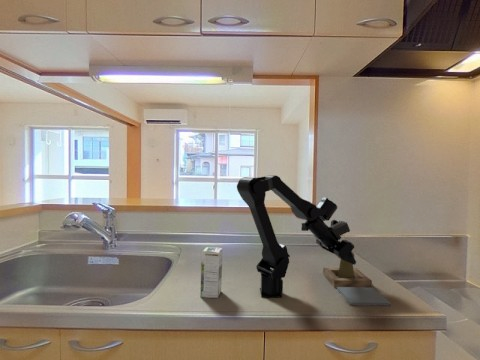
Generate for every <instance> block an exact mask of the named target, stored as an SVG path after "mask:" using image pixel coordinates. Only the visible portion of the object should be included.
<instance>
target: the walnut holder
mask: <svg viewBox="0 0 480 360" xmlns="http://www.w3.org/2000/svg"><path fill="white" fill-rule="evenodd" d="M322 269H323V270H322V275H323V276H324V278H326V280H327V281H328V282H329V283H330V285H331V286H332V287H333V288H336V289H337V287H373V284H372V283H373V280H372V279H371V278H369V277H368V276H367V275H365V273H363V272H362V271H361V270H359V269H358V268H357V267H355V268H354V267H353V270H354V278H338V273H339V267H323V268H322Z"/></svg>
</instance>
